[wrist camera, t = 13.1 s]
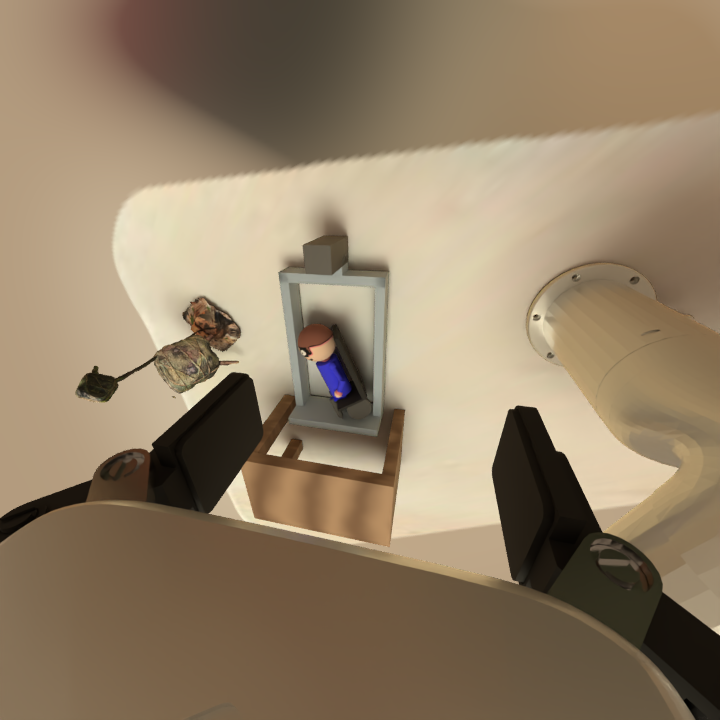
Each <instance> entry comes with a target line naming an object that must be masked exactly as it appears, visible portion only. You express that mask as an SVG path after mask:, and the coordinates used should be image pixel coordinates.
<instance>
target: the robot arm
mask: <svg viewBox="0 0 720 720" xmlns="http://www.w3.org/2000/svg"><path fill="white" fill-rule="evenodd" d="M575 274H576V276H575V277H574V278H572V277H573V276H574V275H575ZM631 278H632V279H631ZM630 279H631V280H630ZM535 314H537V316H535V317H534V315H535ZM526 329H527V335H528V338H529V341H530V343H531V344H532V346H533V348H534V349H535V350H536V352H537V353H538V354H539V355H540V356H541V357H543V358H544V359H545V360H547V361H549V362H551V363H553V364H555V365H559V366H563V367H565V369H566V370H567V372H568V373H569V374H570V376H571V377H572V379H573V380H574V381H575V383H576V384H577V386H578V387H579V389H580V390H581V391H582V393H583V394H584V396H585V397H586V398H587V400H588V401H589V403H590V404H591V406H592V407H593V408H594V410H595V411H596V413H597V414H598V415H599V417H600V418H601V419H602V421H603V422H604V424H605V425H606V426H607V428H608V429H609V430H610V432H611V433H612V434H613V435H614V436H615V437H616V438H617V439H618V440H619V441H620V442H621V443H622V444H623V445H625V446H626V447H628V448H629V449H631V450H632V451H634V452H636V453H637V454H639V455H641V456H644V457H646V458H648V459H651V460H654V461H657V462H659V463H662V464H666V465H669V466H673V467H677V468H679V469H678V470H677V472H676V473H675V474H674V475H673V476H672V477H671V478H670V479H669V480H668V481H666V482H665V483H664V484H663V485H661V486H660V487H659V488H658V489H656V490H655V491H654V493H653V494H652V495H651V496H649V497H648V498H647V499H645V500H644V501H643V502H641V503H640V504H639V505H637V506H636V507H635V508H633V509H632V510H631V511H630V512H628V513H627V514H625V515H624V516H623V517H622V518H620V519H619V520H618V521H616V522H615V523H614V524H612V525H611V526H610V527H608V529H607V530H605V531H604V532H602V531H601V528H600V527H599V524H598V522H597V520H596V518H595V516H594V514H593V512H592V509H591V507H590V505H589V503H588V501H587V499H586V497H585V495H584V493H583V491H582V489H581V487H580V484H579V482H578V480H577V478H576V476H575V474H574V472H573V470H572V468H571V466H570V464H569V461H568V459H567V457H566V456H565V454H563V453H562V452H558V451H556V450H555V448H554V445H553V443H552V441H551V439H550V436H549V434H548V432H547V430H546V428H545V425H544V423H543V421H542V419H541V416H540V414H539V412H538V410H537V408H534V407H525V406H516V407H515V409H509V411H508V414H507V417H506V421H505V424H504V428H503V431H502V435H501V438H500V442H499V445H498V449H497V452H496V456H495V459H494V463H493V467H492V478H493V483H494V488H495V494H496V499H497V504H498V510H499V515H500V520H501V525H502V531H503V536H504V540H505V546H506V552H507V557H508V562H509V567H510V573H511V577H512V579H513V580H514V581H518V582H519V585H518V584H515V583H511V582H508V581H504V580H501V579H498V578H494V577H489V576H486V575H481V574H477V573H473V572H469V571H465V570H461V569H456V568H452V567H448V566H444V565H440V564H436V563H431V562H427V561H422V560H418V559H413V558H409V557H404V556H400V555H395V554H391V553H387V552H382V551H377V550H373V549H369V548H364V547H360V546H355V545H351V544H346V543H342V542H337V541H333V540H328V539H323V538H319V537H314V536H310V535H305V534H300V533H296V532H291V531H287V530H282V529H277V528H273V527H268V526H264V525H259V524H254V523H249V522H245V521H240V520H235V519H231V518H226V517H221V516H216V515H212V514H208V513H210V512H211V511H212V510H213V508H214V507H215V506H216V504H217V503H218V501H219V500H220V498H221V496H223V494H224V493H225V491H226V490H227V488H228V487H229V486H230V484H231V483H232V481H233V480H234V478H235V477H236V475H237V474H238V473H239V471H240V470H241V468H242V467H243V465H244V464H245V463H246V461H247V460H248V458H249V457H250V455H251V454H252V453H253V451H254V450H255V448H256V447H257V445H258V444H259V442H260V441H261V439H262V437H263V432H264V431H263V426H262V421H261V416H260V411H259V406H258V402H257V397H256V392H255V387H254V383H253V380H252V378H250V377H249V375H248V374H244V373H236V372H232V373H230V374H229V375H228V376H227V377H226V378H225V379H223V380H222V381H221V382H220V383H219V384H218V385H217V386H216V387H215V388H213V389H212V390H211V391H210V392H209V393H208V394H207V395H206V396H205V397H203V398H202V399H201V400H200V401H199V402H198V403H197V404H196V405H195V406H193V407H192V408H191V409H190V410H189V411H188V412H187V413H186V414H185V415H183V416H182V417H181V418H180V419H179V420H178V421H177V422H176V423H175V424H173V425H172V426H171V427H170V428H169V429H168V430H167V431H166V432H164V434H162V435H161V436H160V437H159V438H158V439H157V440H156V441H155V442H153V443H152V446H153V448H154V449H153V450H152V451H151V452H150V453H149V452H148V451H147V450H144V449H130V450H126V451H123V452H120V453H117V454H116V455H114V456H112V457H110V458H108V459H107V460H106V461H104V462H103V463H102V464H101V465H100V466H99V467H98V468H97V469H96V472H95V473H94V476H93V479H92V480H90V481H87V482H84V483H81V484H79V485H76V486H73V487H70V488H67V489H65V490H62V491H59V492H56V493H53V494H51V495H48V496H45V497H42V498H40V499H37V500H34V501H31V502H29V503H26V504H24V505H22V506H19V507H17V508H15V509H13V510H11V511H10V512H8V513H7V514H5V515H4V516H3V517H1V518H0V720H720V334H719V333H717V332H715V331H713V330H711V329H710V328H708V327H706V326H704V325H702V324H700V323H698V322H696V321H694V318H693V316H692V315H683V314H681V313H679V312H677V311H675V310H673V309H671V308H669V307H667V306H665V305H663V304H661V303H659V302H657V297H656V293H655V290H654V288H653V286H652V285H651V283H650V282H649V281H648V280H647V279H646V278H645V277H644V276H643V275H642V274H640V273H639V272H637V271H635V270H634V269H631V268H629V267H626V266H623V265H619V264H614V263H595V264H587V265H584V266H580V267H577V268H574V269H572V270H570V271H567V272H565V273H563V274H561V275H560V276H558V277H557V278H555V279H554V280H552V281H551V282H550V283H549V284H548V285H547V286H545V287H544V288H543V289H542V290H541V292H540V293H539V294H538V295H537V297H536V298H535V300H534V301H533V303H532V305H531V307H530V309H529V312H528V315H527V322H526ZM549 352H550V353H549ZM548 353H549V354H548Z"/></svg>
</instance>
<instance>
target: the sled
mask: <svg viewBox="0 0 720 720" xmlns="http://www.w3.org/2000/svg"><path fill="white" fill-rule="evenodd" d="M303 254H304V264H305V268H295V267H288V268H286V269H284V270H282V271H280V272H278V273H279V281H280V288H281V296H282V303H283V311H284V318H285V326H286V333H287V340H288V348H289V355H290V363H291V370H292V378H293V385H294V393H295V400H296V407H295V408H294V410H293V411H292V413H291V414H290V416H289V417H288V419H289V424H293V425H300V426H307V427H314V428H320V429H327V430H334V431H341V432H348V433H354V434H361V435H368V436H375V437H377V436H378V432H379V428H380V424H381V420H382V415H383V411H384V388H385V361H386V335H387V309H388V283H389V272H386V271H363V270H348V236H322V237H320V238H317V239H315V240H313V241H310V242H308V243H306V244H303ZM298 283H305V284H323V285H341V286H360V287H375V322H374V381H373V403H370V404H371V412H370V414H369V415H368V416H367V417H365V418H363V419H354V418H352V417H350V416H349V414H348V412H347V408H346V409H344V410H342V413H343V419H342V418H340V417H338V415H337V413H336V411H335V410H334V408H333V406H332V404H331V402H330V400H329V399H330V398H327V397H319V396H311V395H310V389H309V379H308V370H307V360H306V358H305V357H304V356H303V355H302V354H301V352H300V351H299V348H298V337H299V334H300V332H301V331H302V330H303V322H302V312H301V303H300V293H299V284H298Z"/></svg>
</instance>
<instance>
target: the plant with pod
mask: <svg viewBox="0 0 720 720" xmlns="http://www.w3.org/2000/svg"><path fill="white" fill-rule="evenodd" d="M198 299H199V301H198V300H196V299H195V302H190V303H191V304H192V305H193V306H192V305H191V307H190V309H189V308H188V310H187V311H186V312H183V315H182V316H183V318H184V319H185V321H187V322H188V323H189V324H190V325H191V326H192V328H191V330H192V331H193V332H194V333H193V334H192V335H191V336H189V337H187V338H186V339H184V340H180V341H179V342H175V343H173V344H171V345H167V346H164V347H163V348H162V349H161V350H159V351H157V353H156V354H155V355H154V357H153V358H152V359H150V360H149V361H148V362H146V363H144V364H143V365H141V366H139V367H137V368H135V369H134V370H132V371H130V372H127V373H126V374H124V375H122V376H119V377H118V378H114V377H112V376H107V375H103V374H99V373H98V367H97V366H94V369H93V370H92V373H87V374H86V375H85V376H84V377H83V378H82V380H81V382H80V384H79V386H78V388H77V390H76V392H75V394H76V396H77V397H78V398H83V399H86V400H89V401H93V402H107V401H109V399H110V398H111V397H112V395H113V394H114V393H115V391H116V390H117V388H118V384H117V382H119V381H122V380H124V379H125V378H127V377H128V376H129V375H131V374H133V373H134V372H136V371H139V370H141V369H142V368H144V367H146V366H147V365H148V364H150V363H151V362H153V361H154V365H155V366H156V368H157V371H158V373H159V375H160V376H161V377H162V378H163V380H164V381H165V382H166V383H167V384H168V385H169V387H170V388H171V389H172V390H174V391H175V392H177V393H179V394H180V393H183V392H185V391H188V390H190V389H191V388H193V387H194V386H195V385H196V384H198V383H201V382H205V381H206V380H207V379H209V378H211V377H213V376H214V374H215V373H216V371H217V369H218V368H219V365H229V364H237V363H239V361H219V358H218V357H217V355H216V354H215V353H214V352H213V351H212V350H211V346H212V347H213V348H215V349H218V351H219V350H220V351H222V352H223V351H225V350H226V351H227V349H228V348H229V347H230V346H231V345H233V342H235V341H237V338H240V337H239V336H240V333H241V332H240V331H239V328H238V327H237V325H236V326H235V323H234V322H233V321H232V320H231V318H229V317H228V315H227V314H224V313H223V312H221V311H219V310H218V311H217V310H216V309H215V307H214V306H210V305H209V304H208V303H207V301H205V299H204V298H198ZM195 334H196V335H195ZM173 398H175V397H174V396H173Z"/></svg>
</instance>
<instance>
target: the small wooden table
mask: <svg viewBox="0 0 720 720" xmlns="http://www.w3.org/2000/svg"><path fill="white" fill-rule="evenodd" d="M295 407H296V400H295V396H291V395H284V397H283V398H282V399H281V401H280V402H279V403H278V405H277V406H276V408H275V409H274V410H273V412H272V413H271V414H270V416H269V417H268V418H267V420H266V421H265V422H264V424H263V425H262V426H263V431H264V432H263V437H262V439H261V441H260V442H259V444H258V445H257V447H256V448H255V450H254V451H253V453H252V454H251V455H250V457H249V458H248V460H247V461H246V463H245V464H244V465H243V467H242V468H241V470H242V474H243V478H244V481H245V485H246V488H247V492H248V496H249V499H250V503H251V506H252V510H253V514H254V517H255V518H257V519H262V520H266V521H271V522H276V523H280V524H285V525H290V526H294V527H299V528H304V529H308V530H313V531H318V532H322V533H327V534H332V535H336V536H341V537H346V538H350V539H355V540H360V541H364V542H369V543H374V544H378V545H383V546H388V547H389V546H390V540H391V532H392V525H393V517H394V509H395V502H396V494H397V487H398V479H399V472H400V464H401V452H402V439H403V427H404V415H405V410H400V409H395V410H394V415H393V420H392V425H391V430H390V436H389V441H388V446H387V451H386V456H385V462H384V467H383V472H382V474H379V473H373V472H367V471H361V470H355V469H349V468H343V467H337V466H332V465H326V464H320V463H314V462H308V461H302V460H297V459H298V457H299V455H300V453H301V451H302V449H303V445H302V441H301V440H295V439H291V441H290V443H289V445H288V446H287V448H286V450H285V451H284V453H283V455H282V457H279V456H273V455H267V452H268V451H269V449H270V447H271V446H272V444H273V443H274V441H275V440H276V438H277V436H278V435H279V433H280V432H281V430H282V429H283V427H284V426H285V424H286V422H287V421H288V417H289V416H290V414H291V413H292V411H293V410H294V408H295Z"/></svg>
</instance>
